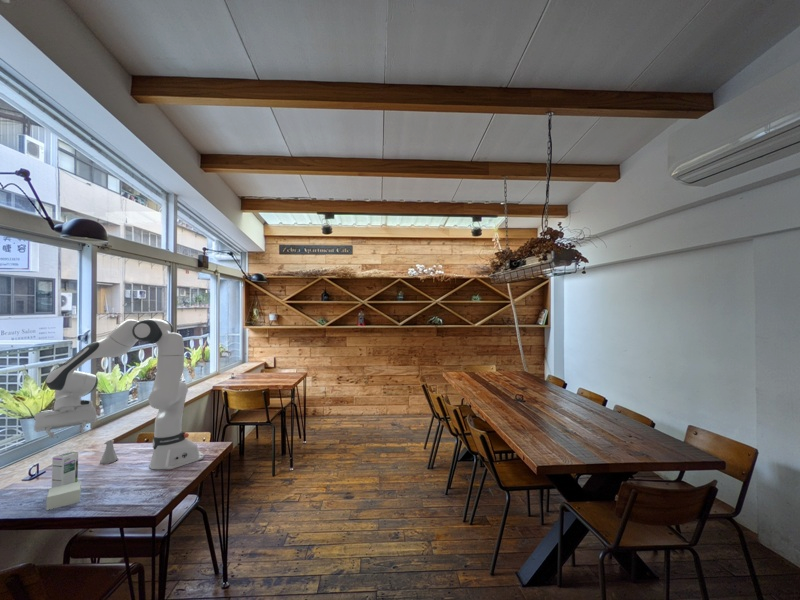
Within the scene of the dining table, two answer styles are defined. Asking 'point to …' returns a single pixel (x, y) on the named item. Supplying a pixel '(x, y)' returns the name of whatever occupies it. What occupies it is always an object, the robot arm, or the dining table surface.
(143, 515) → the dining table surface
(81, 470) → the dining table surface
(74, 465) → the syrup box
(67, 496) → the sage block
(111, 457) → the flask
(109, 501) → the dining table surface
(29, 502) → the dining table surface
